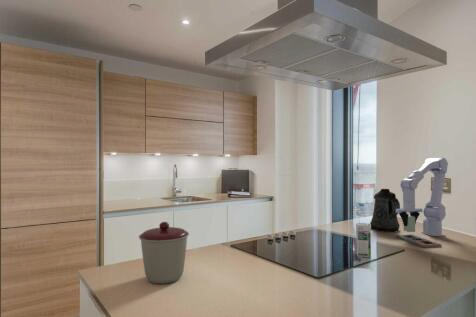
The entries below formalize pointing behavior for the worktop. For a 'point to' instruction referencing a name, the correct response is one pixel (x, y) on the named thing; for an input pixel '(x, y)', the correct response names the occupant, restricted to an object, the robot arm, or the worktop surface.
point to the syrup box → (363, 239)
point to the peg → (410, 224)
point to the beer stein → (385, 212)
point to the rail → (422, 242)
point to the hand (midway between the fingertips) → (409, 225)
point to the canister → (164, 253)
